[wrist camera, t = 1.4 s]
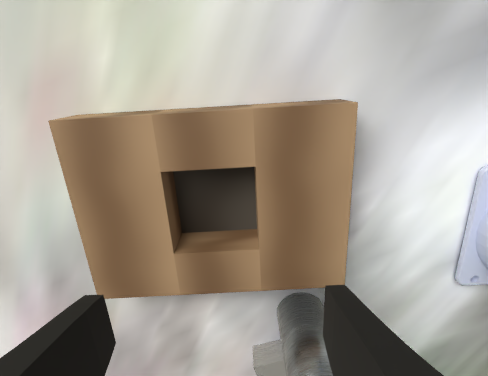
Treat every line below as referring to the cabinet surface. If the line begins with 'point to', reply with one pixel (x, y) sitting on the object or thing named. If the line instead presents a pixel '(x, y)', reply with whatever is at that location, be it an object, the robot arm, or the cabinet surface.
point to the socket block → (212, 196)
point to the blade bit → (269, 359)
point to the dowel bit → (303, 335)
